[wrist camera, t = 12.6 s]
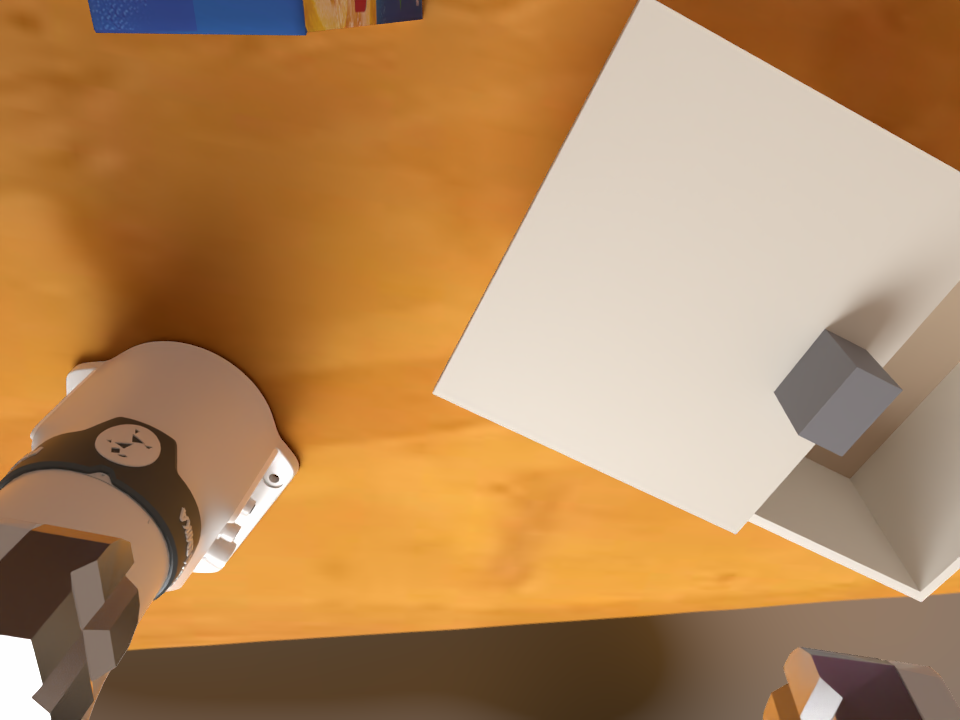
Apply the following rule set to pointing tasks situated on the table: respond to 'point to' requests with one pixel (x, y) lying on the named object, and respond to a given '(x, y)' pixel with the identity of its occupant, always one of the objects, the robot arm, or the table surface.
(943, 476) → the carton
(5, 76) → the table surface
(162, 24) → the beverage box
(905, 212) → the lid
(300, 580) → the table surface
